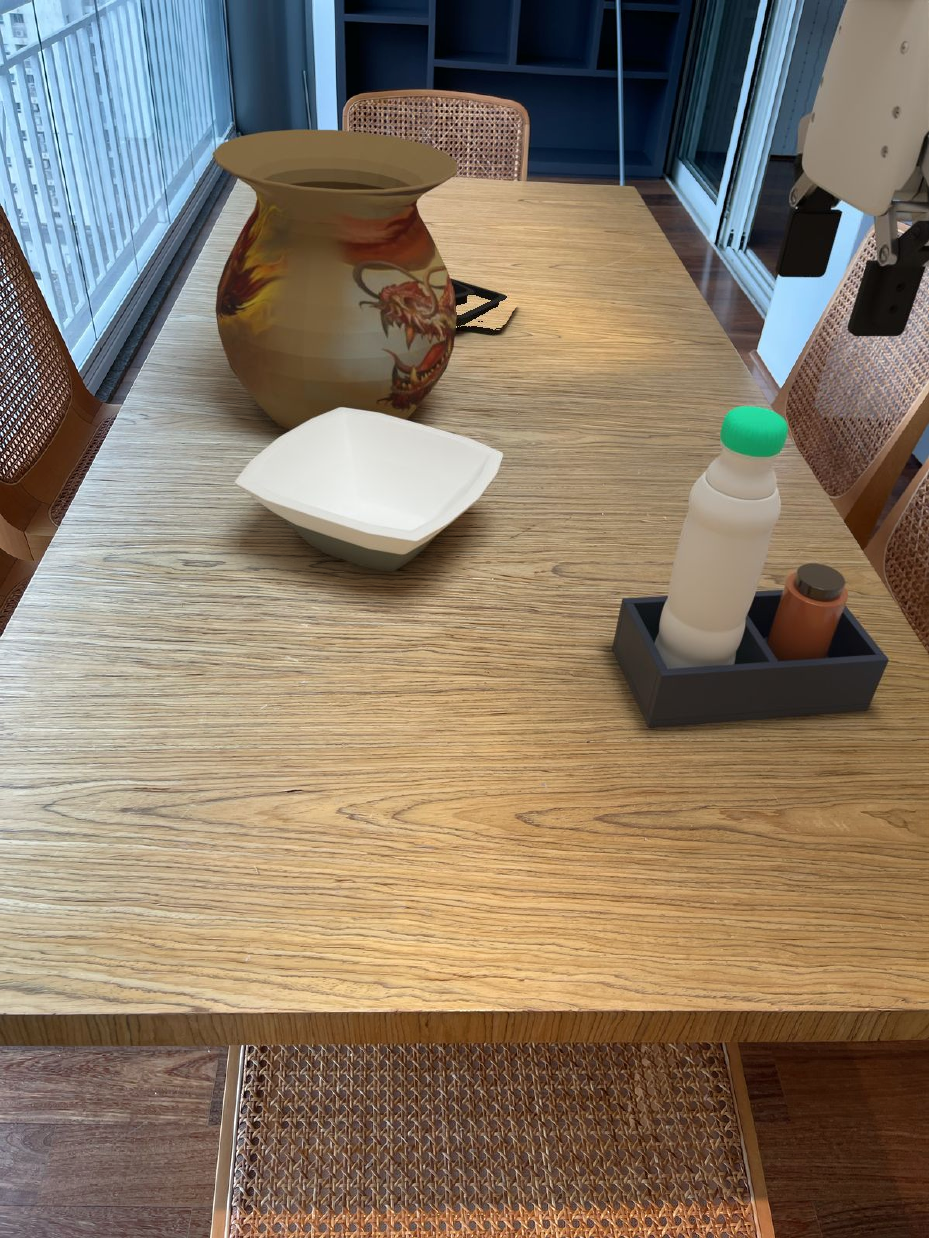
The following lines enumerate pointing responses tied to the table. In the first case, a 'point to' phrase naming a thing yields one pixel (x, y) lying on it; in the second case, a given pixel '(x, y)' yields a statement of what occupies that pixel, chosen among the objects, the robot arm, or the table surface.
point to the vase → (335, 274)
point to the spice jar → (808, 613)
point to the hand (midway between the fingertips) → (834, 303)
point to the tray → (461, 298)
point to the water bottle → (723, 543)
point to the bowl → (369, 484)
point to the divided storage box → (745, 671)
